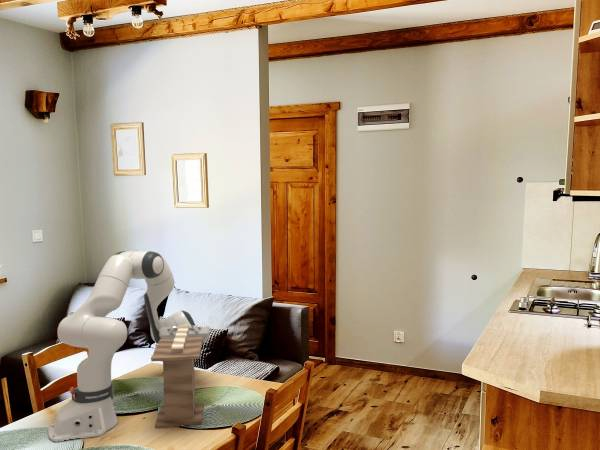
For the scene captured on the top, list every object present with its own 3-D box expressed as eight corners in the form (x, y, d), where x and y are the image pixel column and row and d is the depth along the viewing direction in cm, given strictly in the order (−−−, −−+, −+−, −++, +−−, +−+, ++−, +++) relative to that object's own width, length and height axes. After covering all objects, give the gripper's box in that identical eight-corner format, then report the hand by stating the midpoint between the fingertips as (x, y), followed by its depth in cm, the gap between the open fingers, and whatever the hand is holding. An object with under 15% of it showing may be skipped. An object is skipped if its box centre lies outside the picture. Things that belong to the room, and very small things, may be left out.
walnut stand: (162, 405, 198) (159, 339, 196) (204, 402, 200) (202, 337, 198) (153, 432, 176) (151, 358, 174) (201, 429, 178) (199, 355, 176)
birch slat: (179, 329, 208) (178, 325, 208) (189, 329, 209) (189, 325, 209) (170, 353, 179) (170, 349, 178) (182, 353, 179) (182, 348, 179)
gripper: (161, 329, 217) (156, 321, 205) (210, 327, 220) (208, 319, 208) (160, 344, 215) (156, 337, 202) (210, 342, 218) (208, 334, 205)
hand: (183, 327), depth 205 cm, fingers open, 6 cm apart
